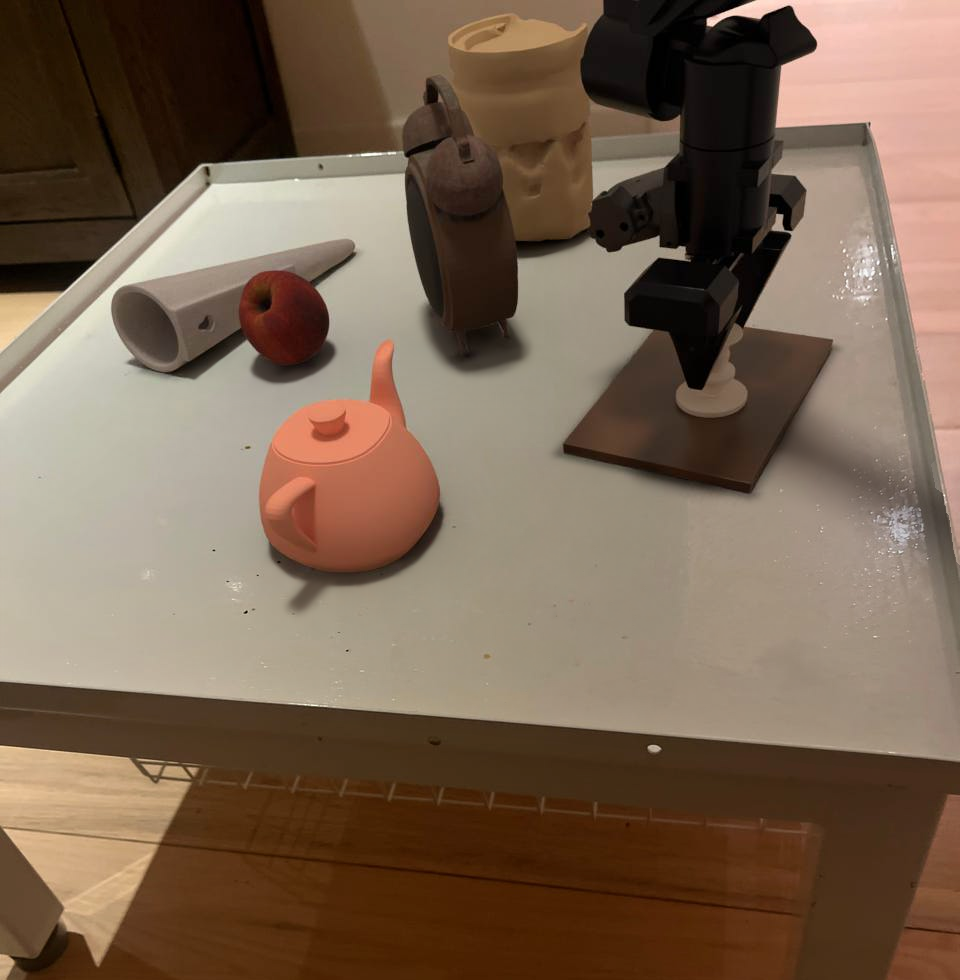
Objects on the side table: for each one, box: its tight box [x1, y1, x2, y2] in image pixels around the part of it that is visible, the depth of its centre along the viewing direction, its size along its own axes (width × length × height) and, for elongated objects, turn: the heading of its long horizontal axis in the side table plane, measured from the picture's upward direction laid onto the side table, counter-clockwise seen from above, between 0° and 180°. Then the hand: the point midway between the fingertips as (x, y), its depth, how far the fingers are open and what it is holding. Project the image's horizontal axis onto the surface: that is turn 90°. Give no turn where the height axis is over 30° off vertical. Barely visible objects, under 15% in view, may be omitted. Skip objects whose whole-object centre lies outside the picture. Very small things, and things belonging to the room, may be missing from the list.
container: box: [447, 12, 594, 242], centre depth 92 cm, size 13×13×18 cm
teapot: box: [258, 339, 441, 573], centre depth 65 cm, size 12×18×10 cm
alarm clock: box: [401, 74, 519, 357], centre depth 78 cm, size 15×7×20 cm, turn 15°
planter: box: [110, 238, 356, 373], centre depth 93 cm, size 8×9×26 cm
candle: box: [676, 323, 747, 418], centre depth 68 cm, size 5×5×10 cm
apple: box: [239, 270, 330, 366], centre depth 83 cm, size 7×8×8 cm
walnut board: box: [562, 326, 834, 494], centre depth 73 cm, size 14×20×1 cm
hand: (713, 363), depth 70 cm, fingers open, 7 cm apart
